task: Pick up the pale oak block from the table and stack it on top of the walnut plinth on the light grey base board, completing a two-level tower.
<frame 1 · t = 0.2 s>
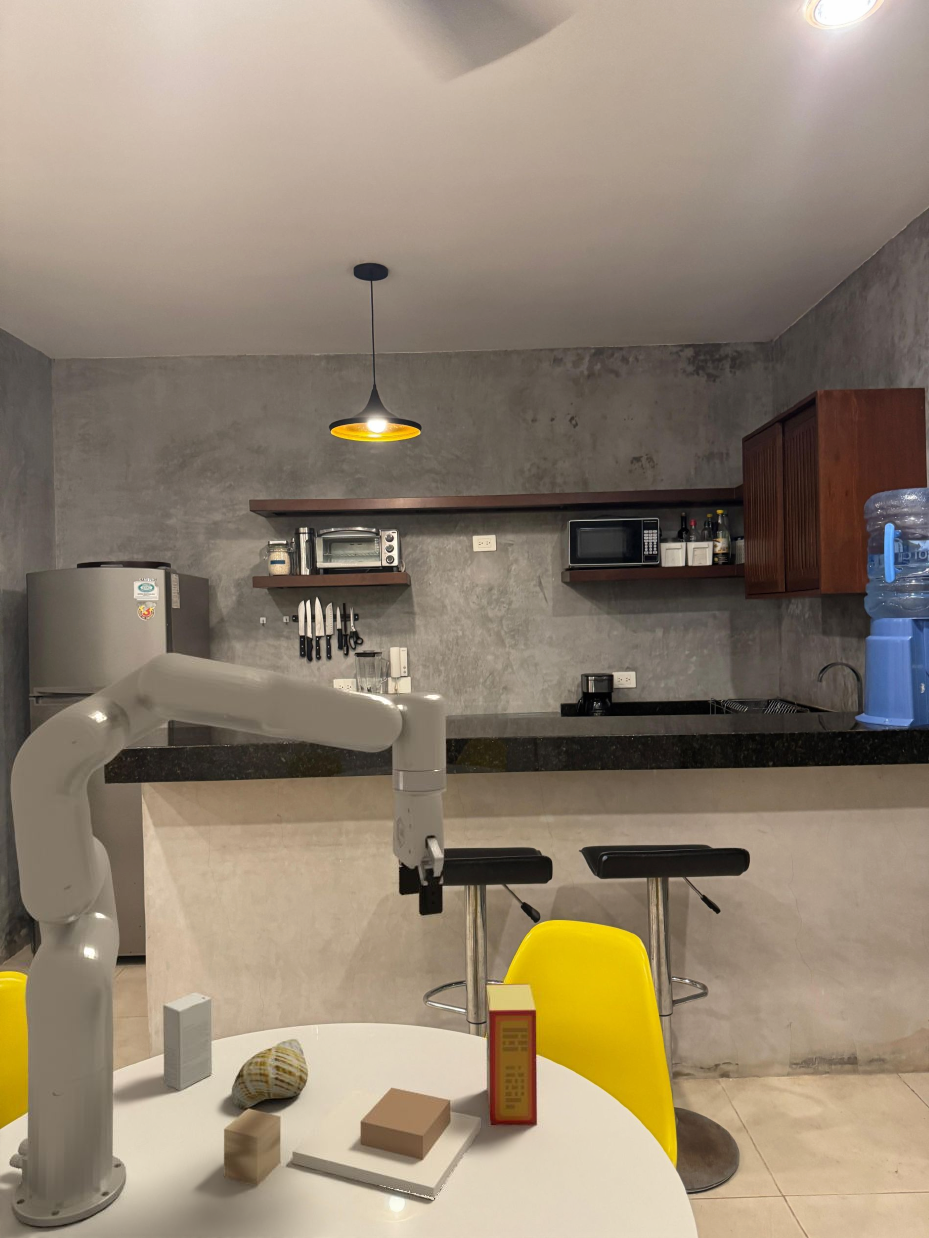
hand: (420, 903, 118), 31 cm above the table, tool pointing down, fingers open, 9 cm apart
seashell: (272, 1097, 125), on the table
oak block: (252, 1170, 107), on the table
skincare box: (187, 1080, 130), on the table
baking soda box: (511, 1107, 122), on the table
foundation: (389, 1145, 112), on the table
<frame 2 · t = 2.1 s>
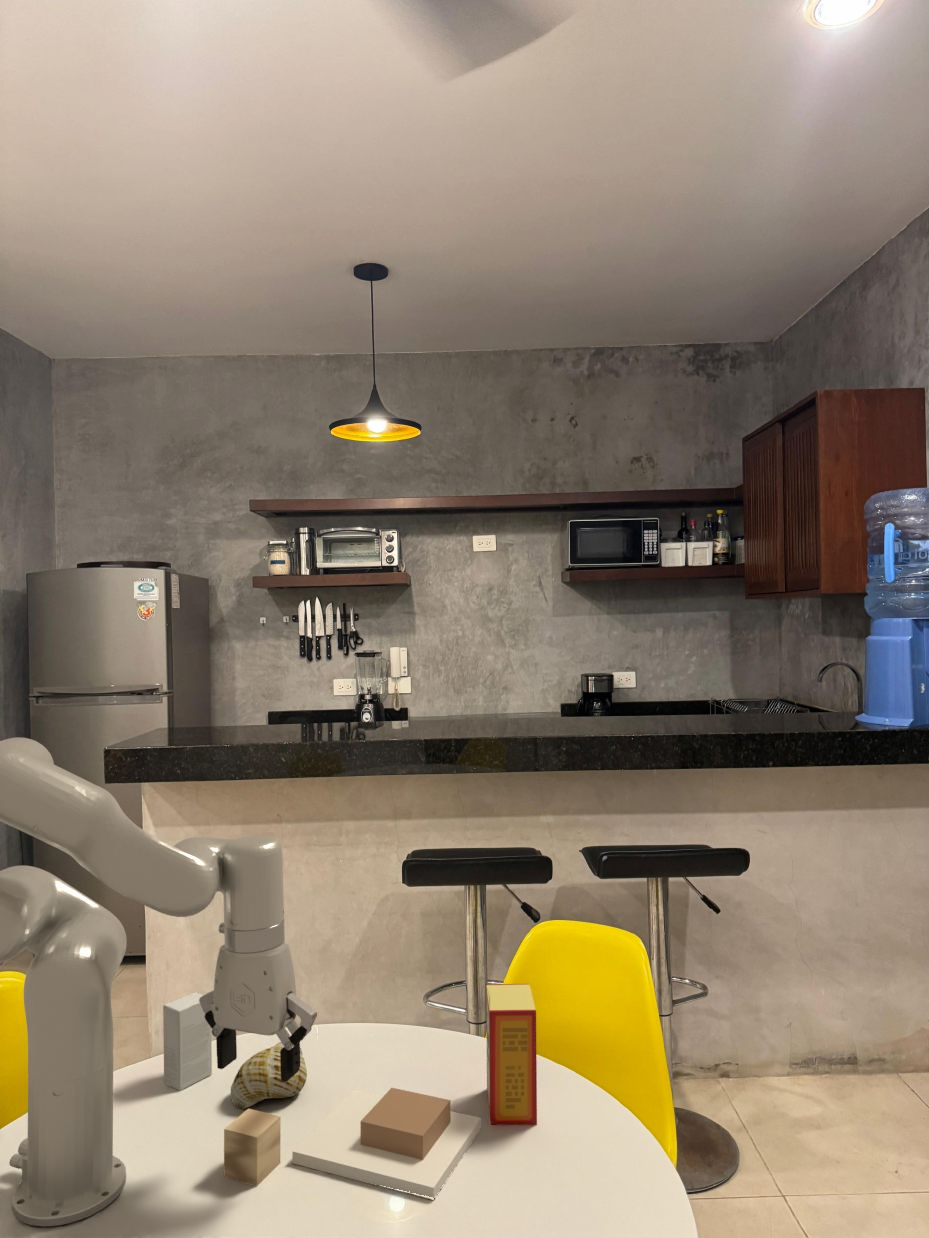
hand: (258, 1069, 108), 12 cm above the table, tool pointing down, fingers open, 9 cm apart
nothing on the table moved.
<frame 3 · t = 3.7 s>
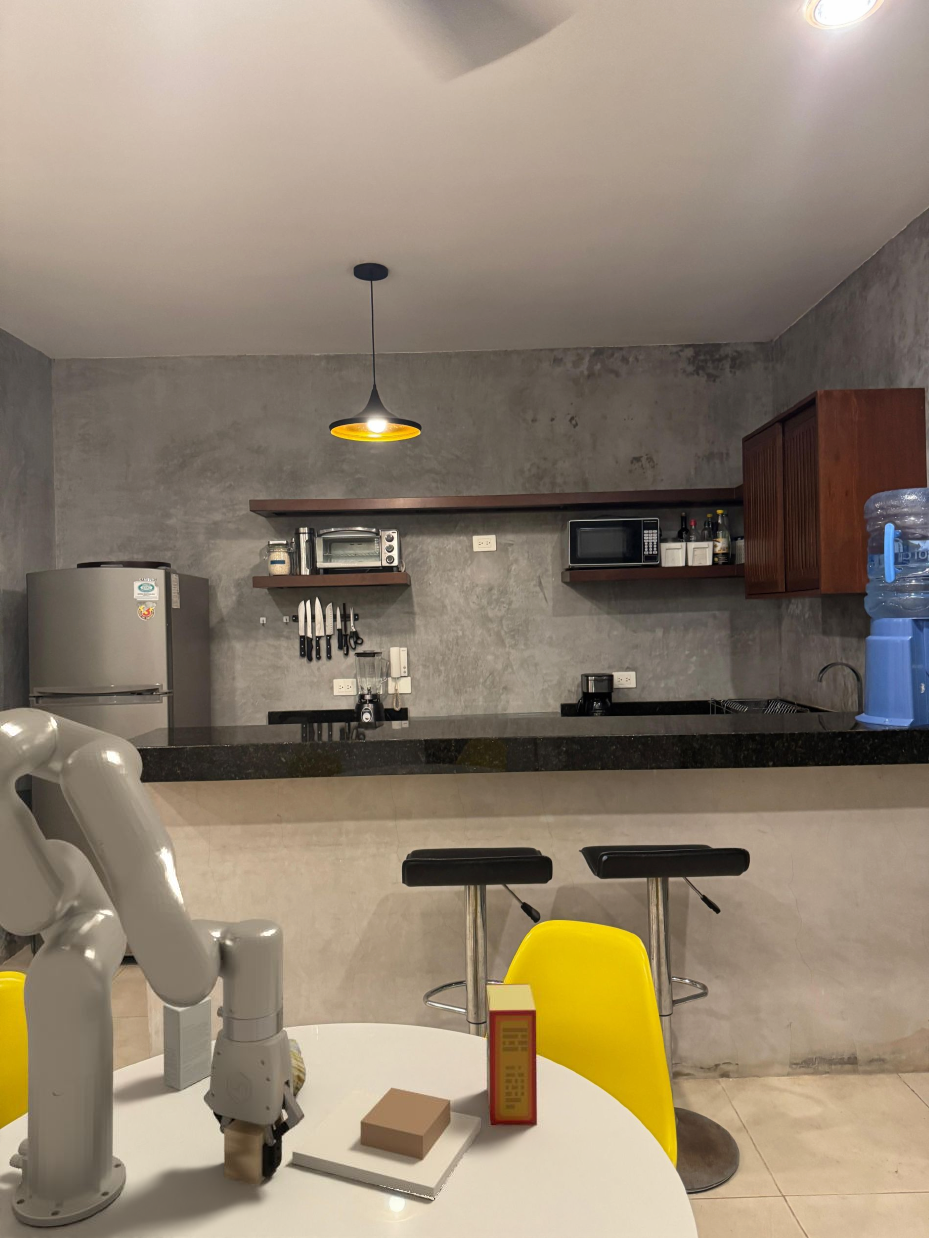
hand: (252, 1164, 107), 1 cm above the table, tool pointing down, fingers closed on oak block, 5 cm apart
oak block: (252, 1169, 107), on the table, touching gripper
everything else where it was.
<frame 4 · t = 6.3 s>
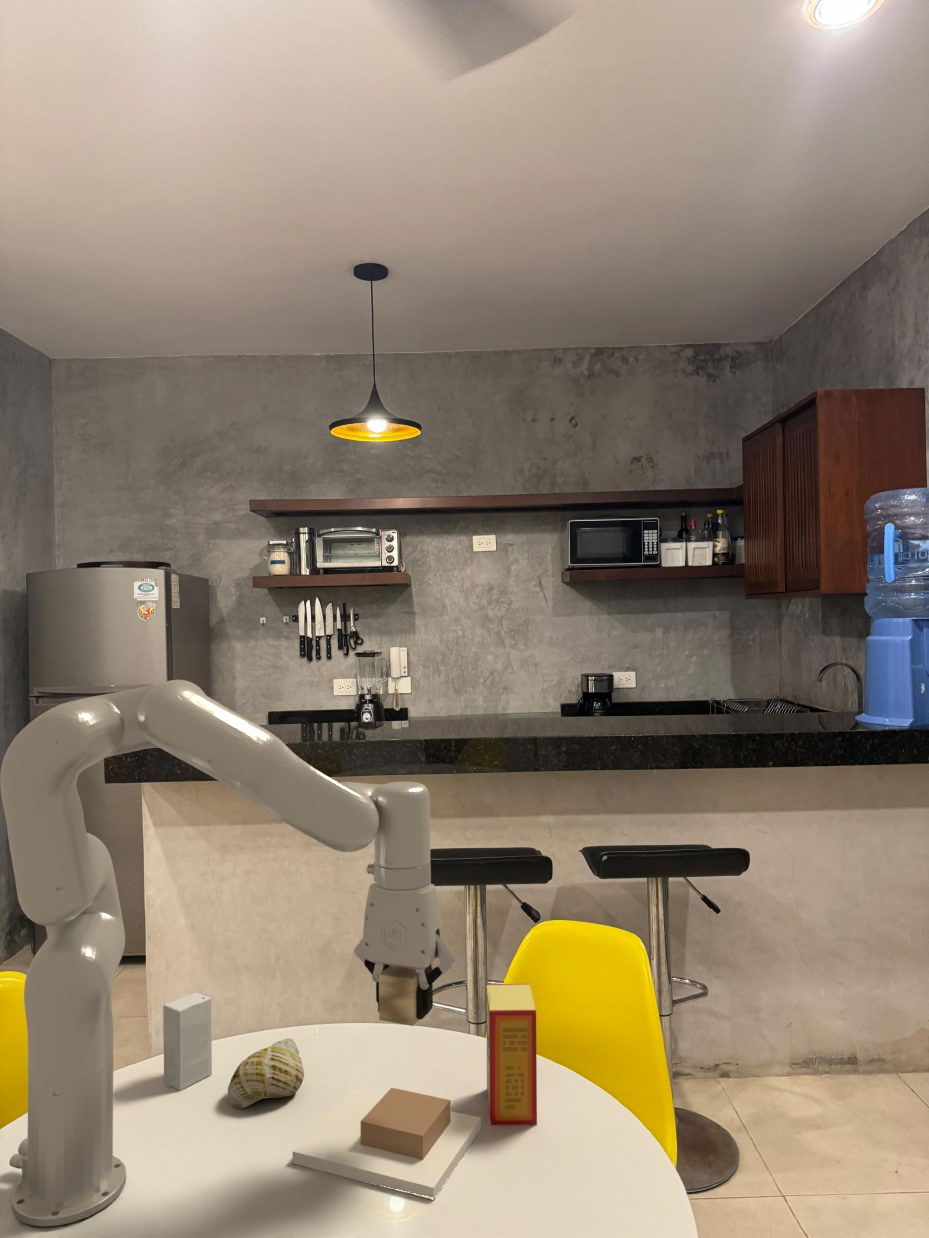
hand: (404, 1010, 113), 18 cm above the table, tool pointing down, fingers closed on oak block, 5 cm apart
oak block: (404, 1015, 113), point 17 cm above the table, touching gripper
everything else where it was.
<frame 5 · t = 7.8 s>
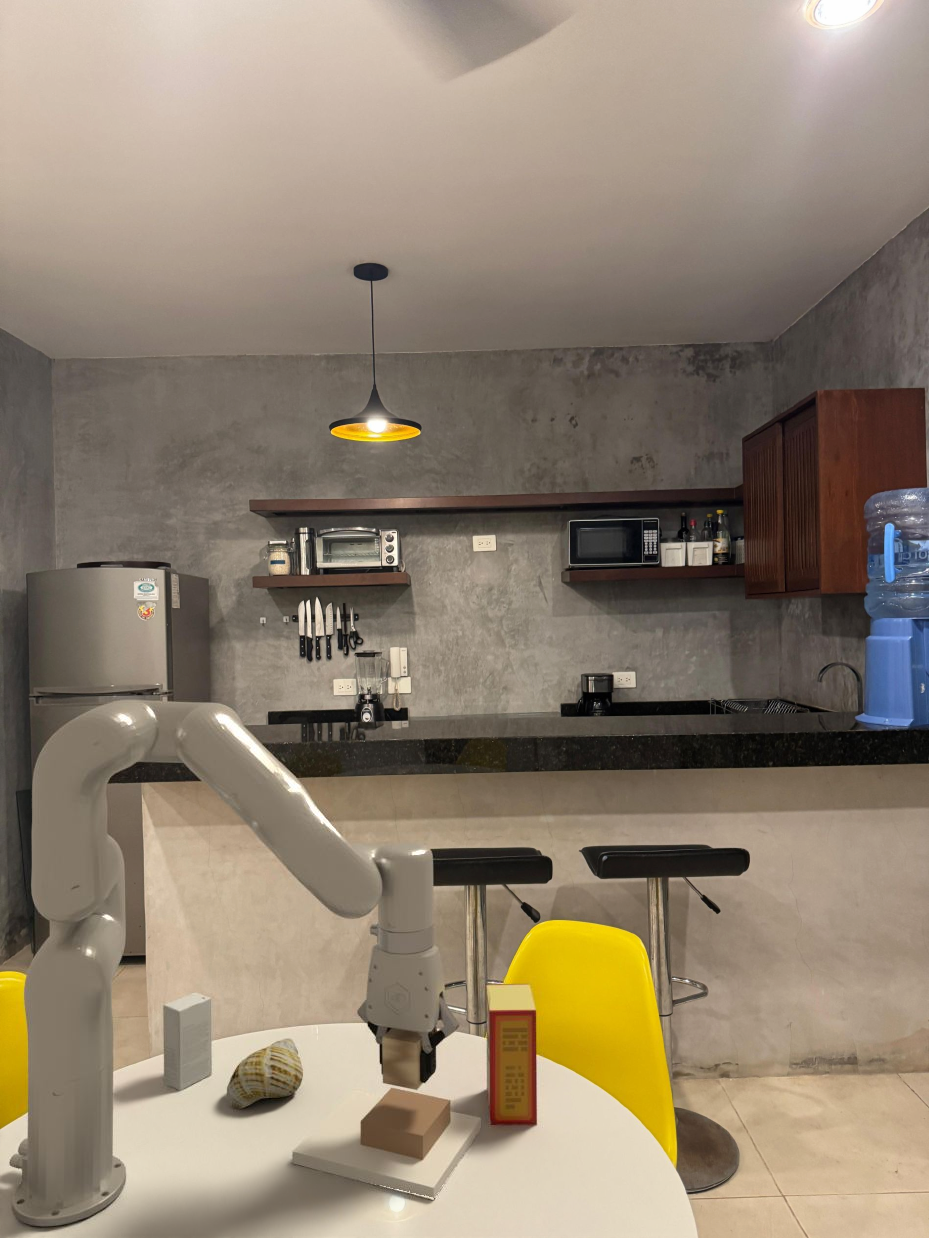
hand: (407, 1072, 113), 9 cm above the table, tool pointing down, fingers closed on oak block, 5 cm apart
oak block: (407, 1077, 113), point 9 cm above the table, touching gripper
everything else where it was.
when the fingers open (6 cm above the table, at t = 8.9 s): oak block stays where it is, resting on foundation.
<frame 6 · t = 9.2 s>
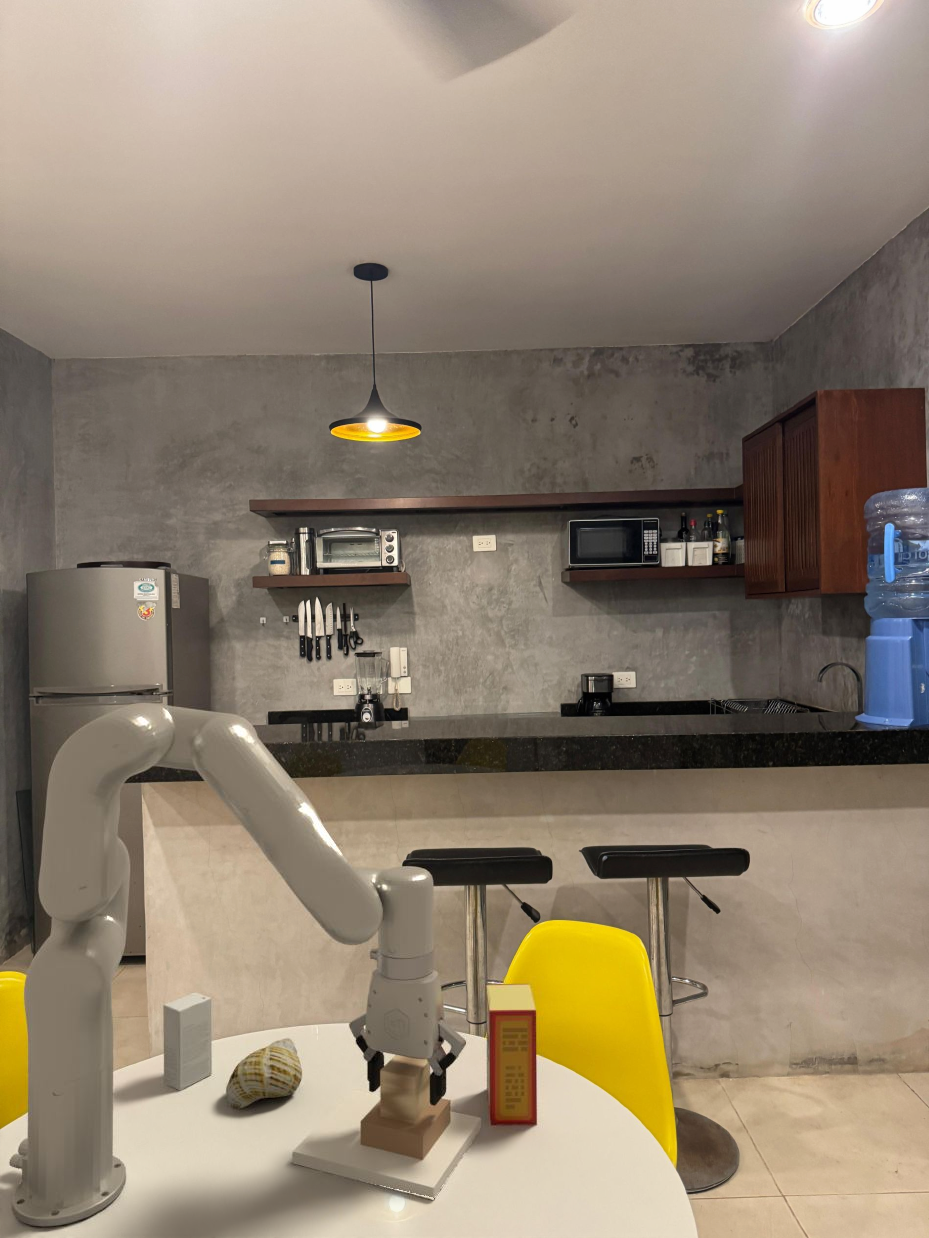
hand: (406, 1093, 113), 7 cm above the table, tool pointing down, fingers open, 8 cm apart
oak block: (405, 1110, 113), point 4 cm above the table, touching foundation
everything else where it was.
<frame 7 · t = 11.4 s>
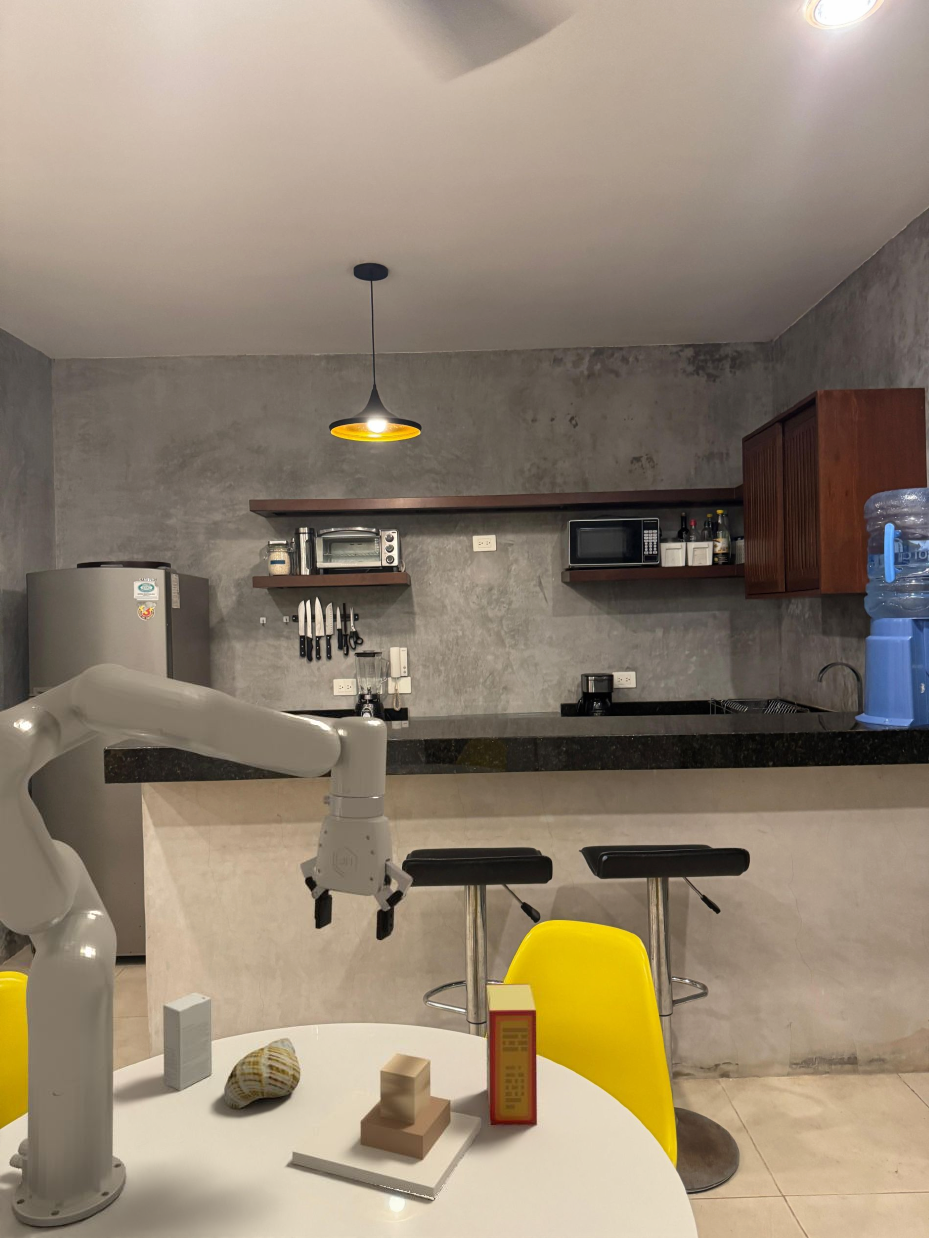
hand: (353, 931, 116), 27 cm above the table, tool pointing down, fingers open, 9 cm apart
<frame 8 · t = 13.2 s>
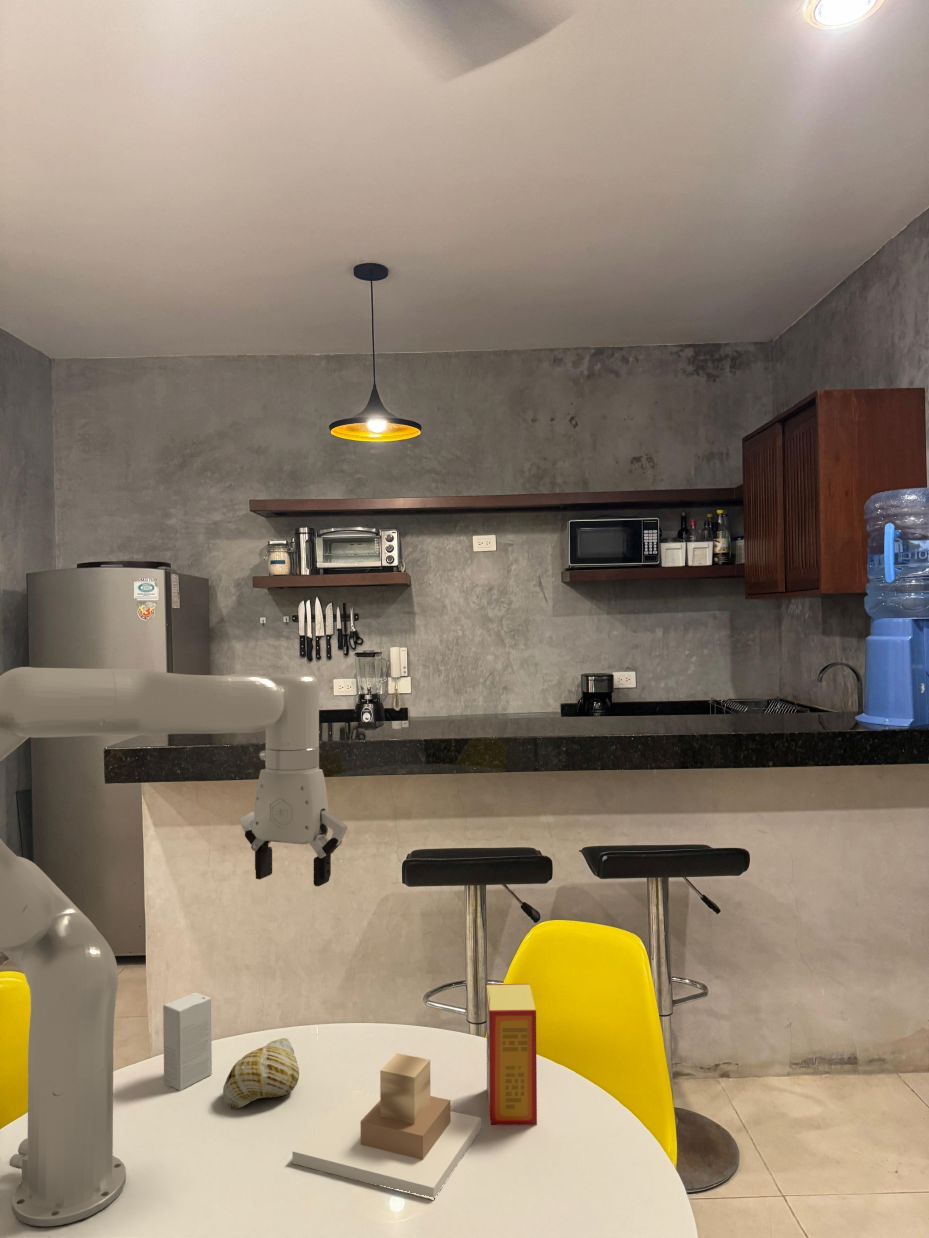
hand: (292, 880, 120), 33 cm above the table, tool pointing down, fingers open, 9 cm apart
at the end: oak block inside the target area on the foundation (0.1 cm from its centre), point 4.5 cm above the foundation's base; oak block tilted 0°; the gripper is holding nothing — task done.
